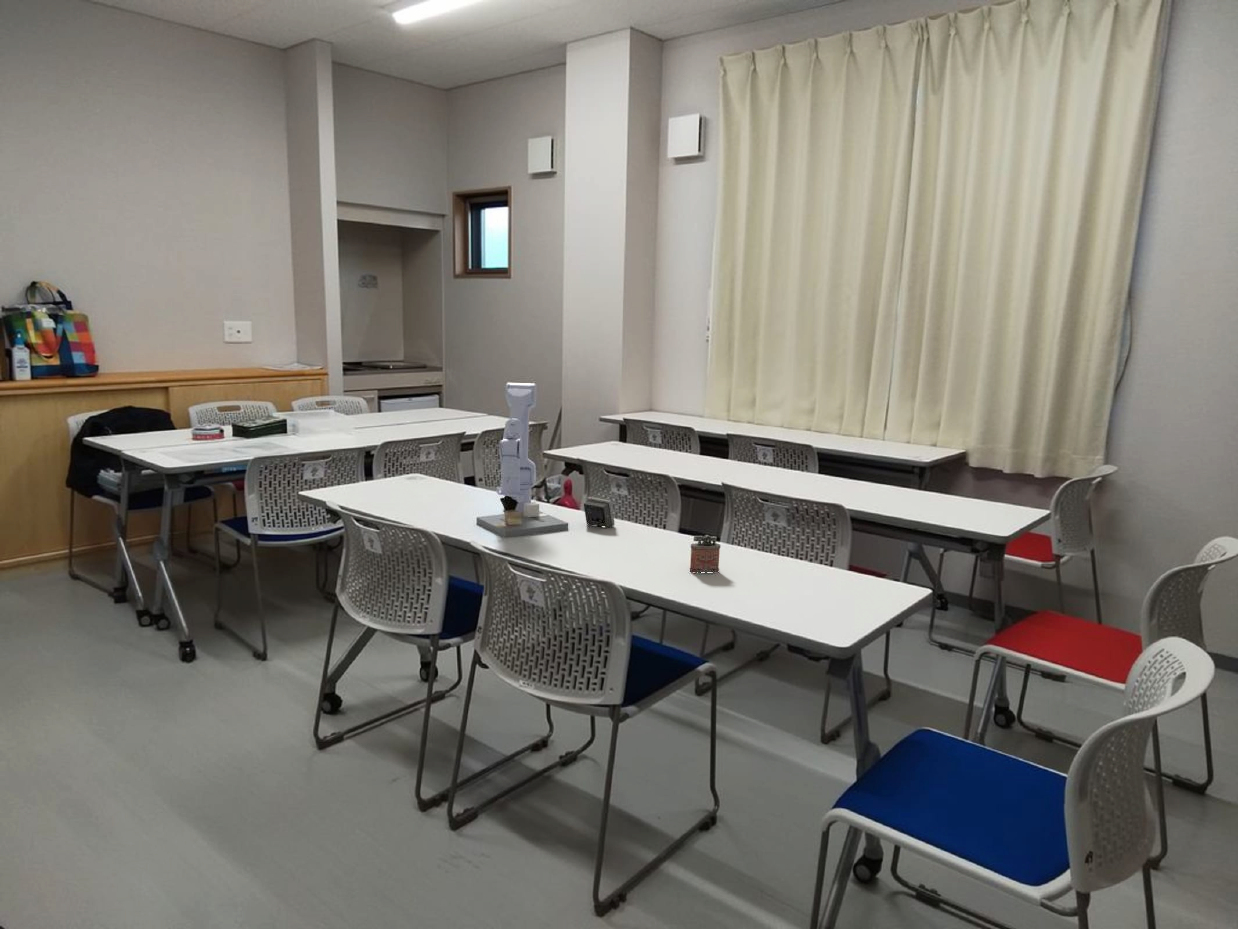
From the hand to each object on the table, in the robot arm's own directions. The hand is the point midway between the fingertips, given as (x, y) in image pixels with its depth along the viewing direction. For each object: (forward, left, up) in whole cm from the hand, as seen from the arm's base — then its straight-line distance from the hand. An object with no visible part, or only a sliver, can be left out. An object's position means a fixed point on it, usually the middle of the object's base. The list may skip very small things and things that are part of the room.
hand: (509, 520), depth 258 cm
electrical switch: (+10, +27, -3) cm, 29 cm away
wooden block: (+2, 0, -1) cm, 2 cm away
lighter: (+64, +25, -3) cm, 69 cm away
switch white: (-4, +10, -1) cm, 11 cm away
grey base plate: (-1, +5, -3) cm, 6 cm away
